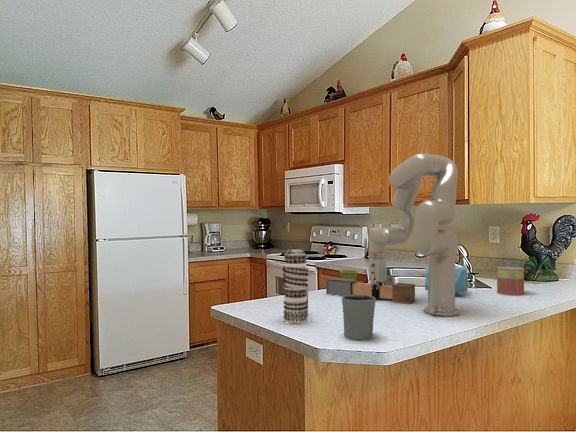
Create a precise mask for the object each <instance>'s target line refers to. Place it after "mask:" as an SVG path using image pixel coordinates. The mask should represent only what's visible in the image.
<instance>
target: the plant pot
mask: <svg viewBox="0 0 576 432" xmlns="http://www.w3.org/2000/svg"><path fill="white" fill-rule="evenodd" d="M339 273H340V276H341V277H340V278H347V279H357V276H358V273H359V270H357V269H342V270H341V269H340V270H339Z"/></svg>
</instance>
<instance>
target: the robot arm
mask: <svg viewBox="0 0 576 432" xmlns="http://www.w3.org/2000/svg"><path fill="white" fill-rule="evenodd" d="M423 177H427V178H428V177H429V178H430V177H431V178H435V180H434V183H433V185H432V189H431V199H424V200H422V202H420V203H419V204H418V205H417V208H416V210H415V215H414V213H413V210H412V209H413V206H414V204H415V201H416V198H417V195H418V193H419V190H420V189H421V188H420V187H421V186H422V182H423ZM458 177H459V172H458V167H457V164H456V162H454V161H453V160H452V159H451V158H449V157H447V156H443V155H438V154H432V153H431V154H430V153H416V154H414V155H412V156H411V157H409V158H408V159H406V160H405V161H403V162H401V163H400V164H399V165H397V166H396V167H395V168H394V169H393V170H392V171H391V172H390V174H389V177H388V183H389V186H390V187H391V188H393V189H395V192H394V195H393V198H392V200H391V205H392V207H393V208H395V210H398V212H399V214H400V215H399V217H400V218H399V221H398V224H397V226H395V227H392V226H391V227H371V228H368V260H369V267H368V268H369V269H368V279H369V284H371V288H372V296H373V297H375V299H380V298H379V289H378V286H379V285H384V282H385V281H387V279H388V276H387V275H388V273H387V269H388V268H387V261H386V260H387V246H398V245H403V244H405V243H406V242H408V240H409V239H410V236H411V234H412V231H413V229H414V233H413V234H414V235H413V244H414V247H415V250H416V251H417V252H418V253H419V254H421V255H423V256H429V259H428V263H427V264H428V265H427V267H428V291H427V292H428V293H427V297H428V298H427V301H428V303H427V305H428V306H425V307H424V308H423V312H424V313H426V314H429V315H433V316H437V317H438V316H440V317H453V316H458V315H460V310H459V309H458V308H456V296H455V267H456V255H457V250H458V238H457V236H456V234H455V233H454V232H453V231H452V230H450V229H447V228H439V226H446V225H450V224H451V223H453V221H454V220H455V217H456V207H457V206H456V205H457V201H456V200H457V185H458ZM414 216H415V217H414Z"/></svg>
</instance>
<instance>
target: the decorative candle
mask: <svg viewBox="0 0 576 432" xmlns="http://www.w3.org/2000/svg"><path fill="white" fill-rule="evenodd" d="M283 255H284V262H283V264H284V265H283V268H282V272H283V273H282V277H283V279H282V281H283V282H284V283H283V285H282V286H283V289H284V297H283V298H284V301H283V304H284V305H283V309H284V310H283V316H282V317H283V322H284V321H285V322H288V323H303V324H306V323H308V322H307V321H308V318H309V316H308V315H309V310H308V311H307V310H306V308H308V309H309V305H308V306H307V305H306V304H307V303H308V304H309V300H308V301H307V296H306V289H307V286H308V287H309V283H308V281H309V279H308V278H307V277H308V276H309V273H308V271H309V268H307V253H305V250H303V249H299V248H298V249H297V248H296V249H295V248H294V249H292V248H291V249H288V250H286V251H285V253H284V254H283ZM306 282H307V283H308V284H307V283H306ZM307 313H308V315H307ZM285 322H284V323H285ZM305 322H306V323H305ZM288 323H287V324H288Z"/></svg>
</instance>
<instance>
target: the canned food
mask: <svg viewBox="0 0 576 432" xmlns="http://www.w3.org/2000/svg"><path fill="white" fill-rule="evenodd" d="M496 276H497V277H496V284H497V285H496V294H498V295H502V296H510V297H511V296H512V297H522V296H524V295H525V268H524V267H519V266H509V265H508V266H506V265H505V266H497V267H496Z"/></svg>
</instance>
